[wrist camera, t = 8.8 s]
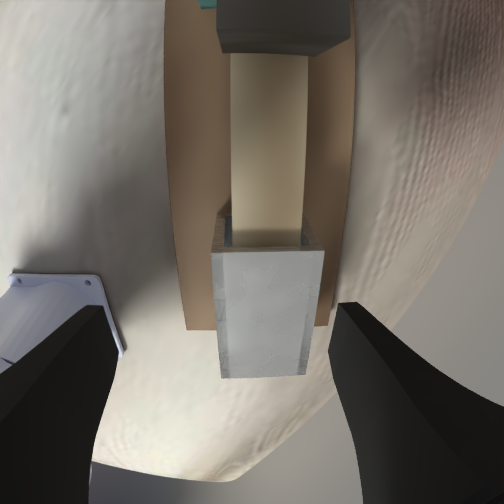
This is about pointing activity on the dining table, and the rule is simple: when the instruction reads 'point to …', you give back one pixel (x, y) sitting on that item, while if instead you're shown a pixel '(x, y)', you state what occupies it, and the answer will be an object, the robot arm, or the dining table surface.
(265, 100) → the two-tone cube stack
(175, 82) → the base board
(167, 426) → the dining table surface
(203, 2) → the socket
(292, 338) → the sleeve
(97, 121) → the dining table surface
